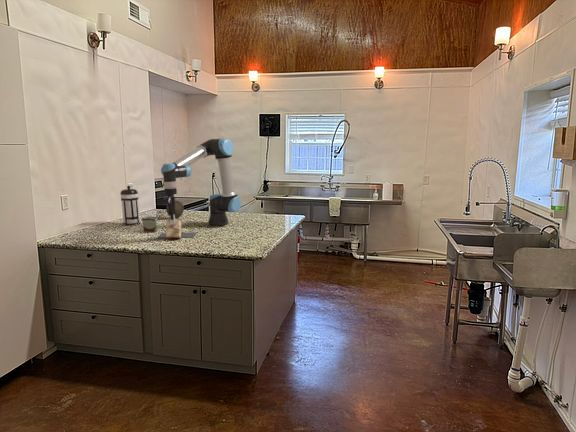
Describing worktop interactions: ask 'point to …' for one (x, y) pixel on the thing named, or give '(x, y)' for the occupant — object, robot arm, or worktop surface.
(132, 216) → the coffee press
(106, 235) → the worktop surface
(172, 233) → the maple block
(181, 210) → the cantaloupe
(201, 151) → the robot arm
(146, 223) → the food container
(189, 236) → the rubber mat
